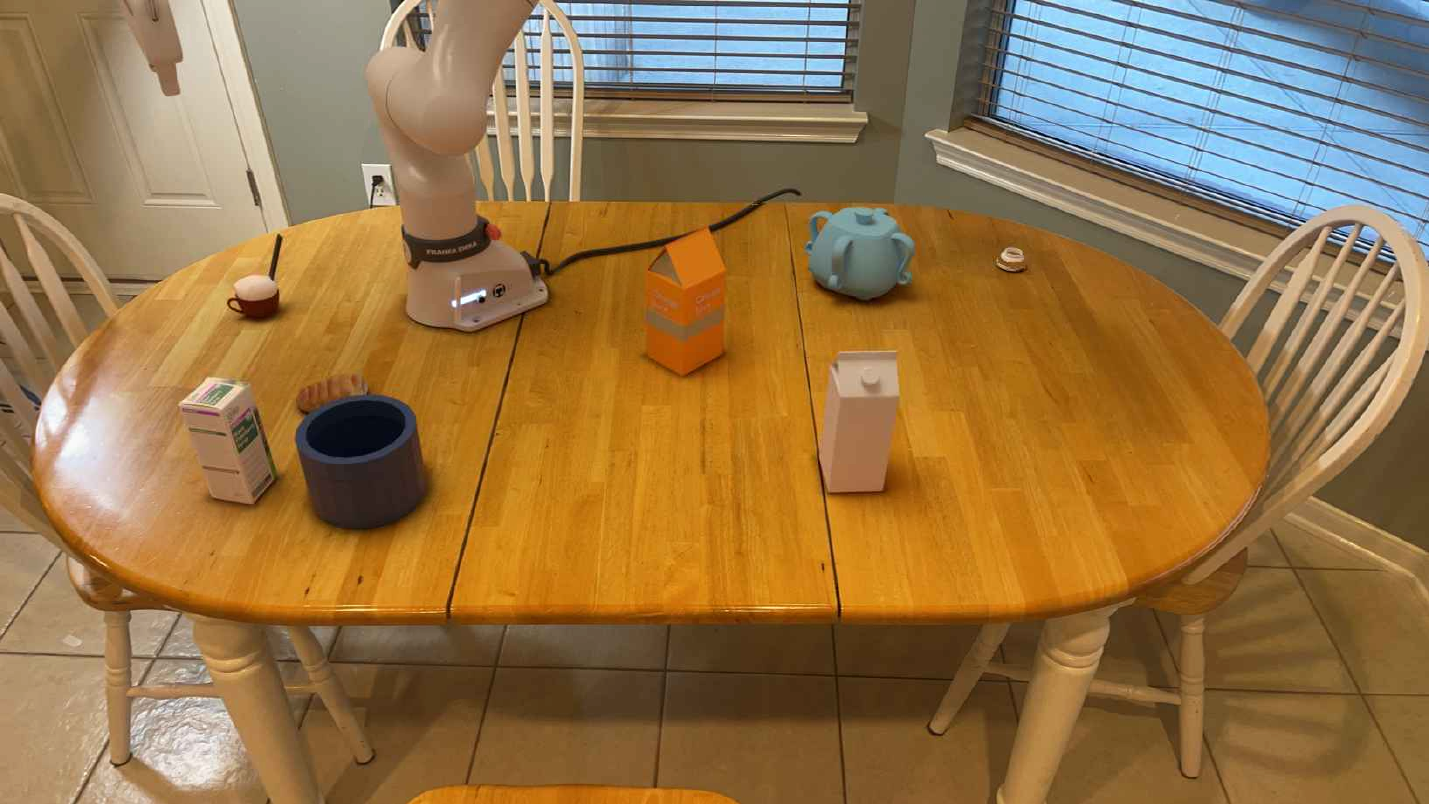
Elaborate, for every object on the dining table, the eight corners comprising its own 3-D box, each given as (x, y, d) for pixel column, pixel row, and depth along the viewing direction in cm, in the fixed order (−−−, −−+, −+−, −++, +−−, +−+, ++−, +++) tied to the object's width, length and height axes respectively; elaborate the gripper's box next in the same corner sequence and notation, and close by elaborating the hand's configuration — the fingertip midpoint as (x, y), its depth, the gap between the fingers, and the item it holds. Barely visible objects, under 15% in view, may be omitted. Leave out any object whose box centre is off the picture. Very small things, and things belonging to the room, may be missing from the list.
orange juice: (723, 354, 154) (728, 234, 143) (682, 377, 149) (684, 254, 137) (686, 334, 158) (688, 216, 147) (645, 356, 153) (644, 235, 141)
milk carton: (818, 458, 134) (833, 336, 123) (871, 457, 135) (890, 335, 124) (827, 493, 129) (844, 368, 118) (882, 492, 129) (904, 367, 118)
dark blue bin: (405, 445, 134) (394, 383, 128) (442, 504, 124) (432, 440, 119) (299, 479, 127) (282, 414, 122) (329, 544, 118) (313, 478, 112)
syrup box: (253, 506, 123) (223, 409, 115) (209, 498, 124) (176, 401, 116) (278, 476, 128) (252, 381, 119) (236, 469, 129) (206, 374, 120)
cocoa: (230, 325, 156) (210, 255, 149) (235, 304, 161) (216, 236, 154) (295, 319, 158) (279, 250, 151) (299, 299, 163) (283, 231, 156)
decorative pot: (890, 260, 181) (901, 189, 173) (913, 306, 168) (926, 230, 160) (800, 262, 180) (807, 190, 172) (816, 307, 166) (824, 232, 159)
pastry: (297, 422, 137) (292, 399, 135) (297, 395, 142) (292, 372, 140) (370, 411, 139) (365, 388, 137) (367, 385, 145) (363, 362, 142)
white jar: (1023, 261, 182) (994, 258, 183) (1026, 246, 181) (998, 243, 181) (1026, 274, 178) (997, 271, 179) (1029, 259, 177) (1000, 256, 177)
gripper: (178, -26, 106) (210, 105, 114) (148, -64, 120) (179, 55, 128) (110, -20, 103) (148, 113, 111) (88, -60, 117) (124, 61, 125)
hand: (165, 82), depth 119 cm, fingers open, 8 cm apart
